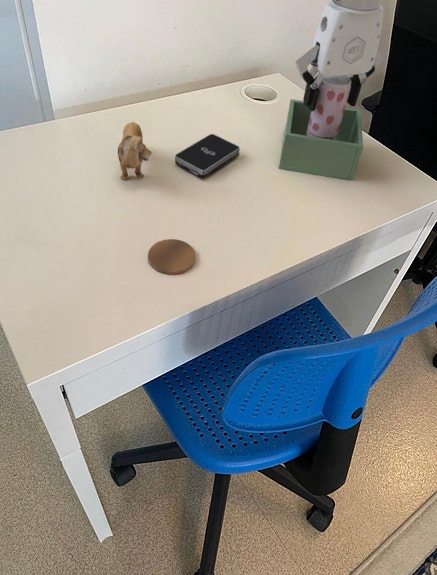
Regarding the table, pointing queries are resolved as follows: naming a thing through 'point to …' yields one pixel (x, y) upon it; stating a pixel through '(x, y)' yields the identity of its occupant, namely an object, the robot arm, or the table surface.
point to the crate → (321, 145)
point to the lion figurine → (132, 150)
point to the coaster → (171, 256)
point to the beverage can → (329, 107)
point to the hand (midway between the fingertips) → (329, 104)
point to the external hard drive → (207, 155)
